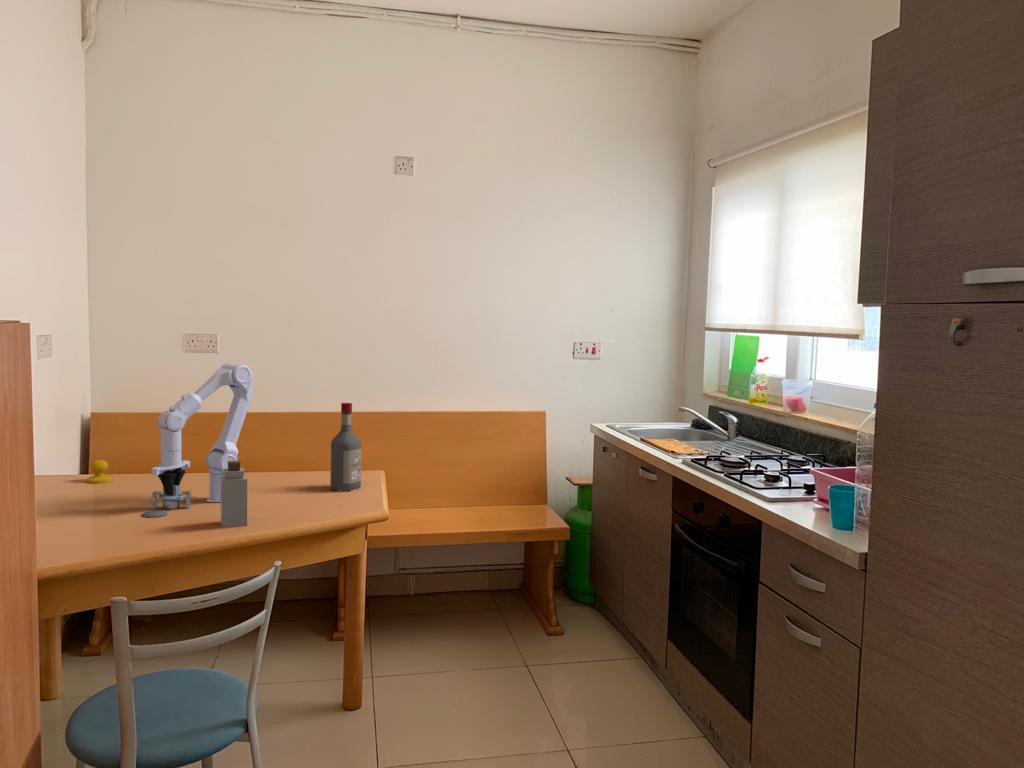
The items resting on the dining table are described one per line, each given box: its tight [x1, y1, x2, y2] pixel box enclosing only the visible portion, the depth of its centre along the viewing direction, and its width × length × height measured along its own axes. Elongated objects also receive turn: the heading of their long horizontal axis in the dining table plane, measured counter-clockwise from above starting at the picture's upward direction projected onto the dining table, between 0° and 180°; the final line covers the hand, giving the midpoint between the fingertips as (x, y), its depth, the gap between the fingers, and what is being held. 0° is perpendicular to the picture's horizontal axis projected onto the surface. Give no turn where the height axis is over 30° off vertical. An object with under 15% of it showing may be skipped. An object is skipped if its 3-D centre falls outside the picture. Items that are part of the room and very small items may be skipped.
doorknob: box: [86, 459, 113, 485], centre depth 275 cm, size 8×8×8 cm
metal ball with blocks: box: [151, 490, 192, 511], centre depth 242 cm, size 11×5×5 cm, turn 101°
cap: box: [158, 485, 185, 501], centre depth 241 cm, size 8×6×4 cm
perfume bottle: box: [220, 460, 248, 529], centre depth 226 cm, size 7×7×18 cm
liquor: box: [329, 402, 362, 492], centre depth 274 cm, size 9×9×30 cm
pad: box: [141, 510, 169, 519], centre depth 233 cm, size 7×7×1 cm
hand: (171, 494), depth 241 cm, fingers closed on cap, 2 cm apart
